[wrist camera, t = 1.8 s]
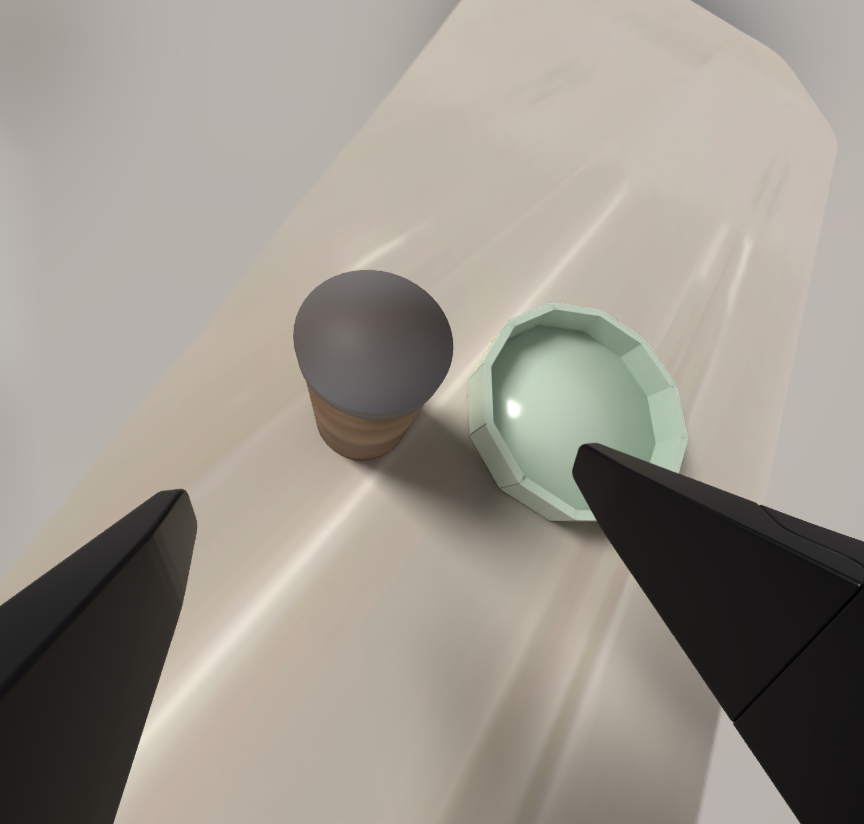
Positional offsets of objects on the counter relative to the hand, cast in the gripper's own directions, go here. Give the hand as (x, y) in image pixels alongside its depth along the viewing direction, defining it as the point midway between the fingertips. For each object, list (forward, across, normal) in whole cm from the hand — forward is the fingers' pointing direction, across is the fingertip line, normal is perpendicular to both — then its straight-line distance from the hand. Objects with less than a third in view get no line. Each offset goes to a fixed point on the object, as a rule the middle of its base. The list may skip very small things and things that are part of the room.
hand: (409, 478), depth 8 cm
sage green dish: (+11, -13, +5) cm, 18 cm away
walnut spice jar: (+12, 0, +5) cm, 13 cm away
